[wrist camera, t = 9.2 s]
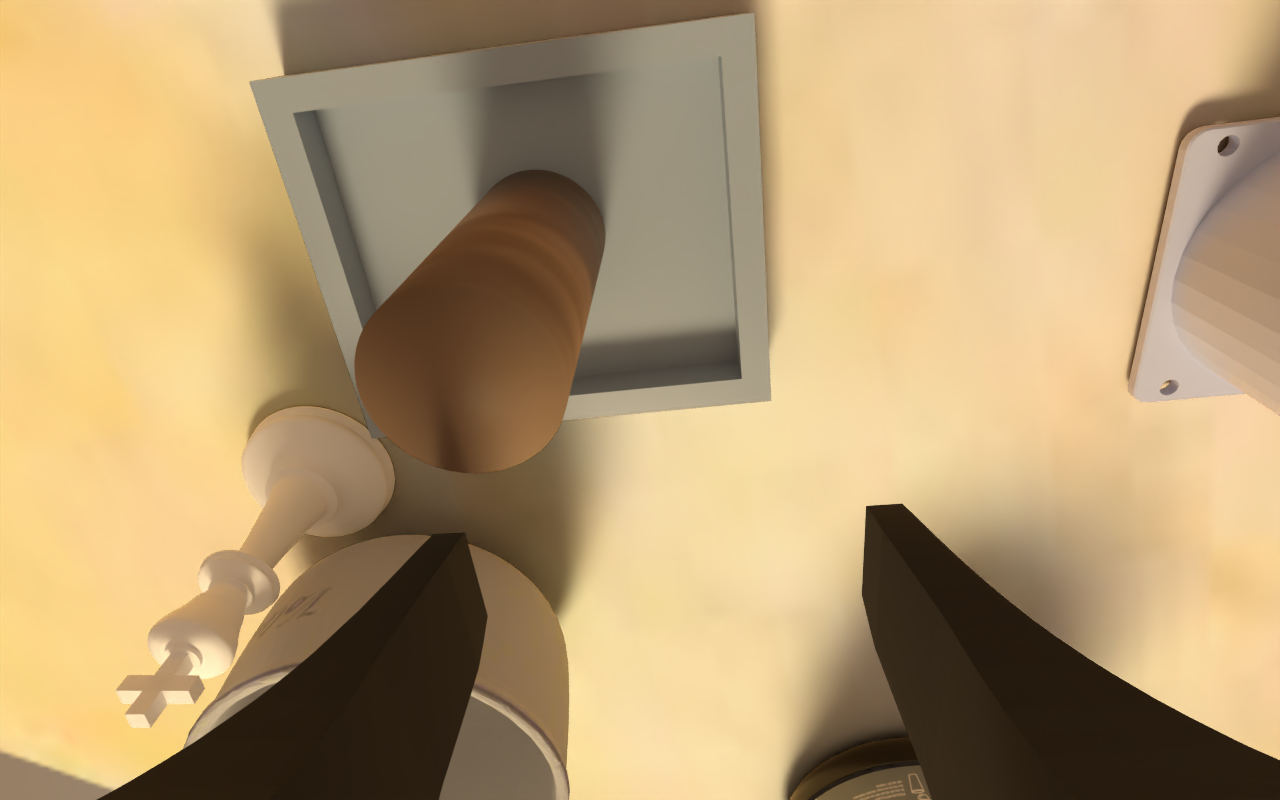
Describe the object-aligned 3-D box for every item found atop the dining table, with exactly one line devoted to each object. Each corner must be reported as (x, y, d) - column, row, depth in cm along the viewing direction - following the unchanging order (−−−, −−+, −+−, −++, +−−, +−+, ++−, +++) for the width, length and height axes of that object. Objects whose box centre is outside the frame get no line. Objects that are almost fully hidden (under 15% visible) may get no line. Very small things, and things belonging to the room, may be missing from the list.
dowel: (601, 167, 19) (559, 280, 11) (608, 296, 21) (575, 472, 13) (466, 171, 19) (332, 284, 12) (484, 299, 21) (377, 474, 13)
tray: (746, 12, 18) (754, 12, 16) (763, 373, 23) (771, 401, 21) (283, 75, 19) (249, 81, 17) (390, 409, 24) (371, 438, 22)
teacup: (321, 452, 25) (185, 630, 18) (627, 539, 26) (614, 737, 19) (279, 715, 31) (167, 924, 24) (527, 773, 32) (490, 987, 25)
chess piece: (230, 405, 24) (-22, 639, 15) (380, 404, 24) (214, 639, 15) (270, 526, 26) (72, 790, 17) (407, 526, 26) (277, 792, 17)
